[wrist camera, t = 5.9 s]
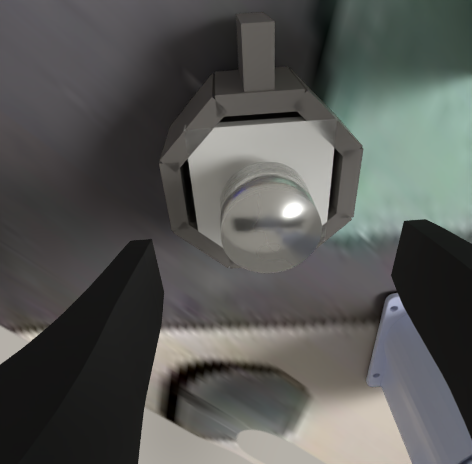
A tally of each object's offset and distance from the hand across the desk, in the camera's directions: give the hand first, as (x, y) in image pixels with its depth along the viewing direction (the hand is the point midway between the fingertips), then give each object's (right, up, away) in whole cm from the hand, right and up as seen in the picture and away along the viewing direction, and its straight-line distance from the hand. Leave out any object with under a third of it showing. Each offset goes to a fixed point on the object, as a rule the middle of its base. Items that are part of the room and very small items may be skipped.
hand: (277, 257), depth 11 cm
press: (0, +5, +7) cm, 8 cm away
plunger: (0, +4, +6) cm, 7 cm away
